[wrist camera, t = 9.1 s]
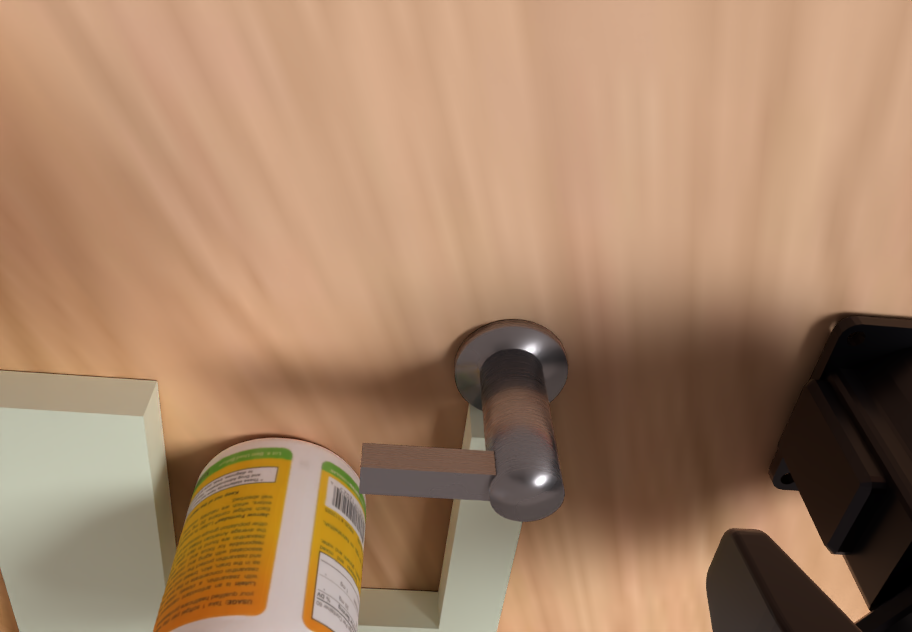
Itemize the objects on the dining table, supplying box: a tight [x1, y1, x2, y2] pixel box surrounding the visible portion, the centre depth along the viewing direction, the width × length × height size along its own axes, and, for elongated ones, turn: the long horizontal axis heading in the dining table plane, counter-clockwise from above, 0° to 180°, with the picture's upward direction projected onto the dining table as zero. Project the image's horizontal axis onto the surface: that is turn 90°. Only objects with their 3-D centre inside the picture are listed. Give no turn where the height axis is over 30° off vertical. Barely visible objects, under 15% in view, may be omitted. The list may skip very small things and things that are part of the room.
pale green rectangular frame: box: [0, 370, 522, 632], centre depth 29 cm, size 16×18×2 cm
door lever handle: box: [359, 320, 568, 522], centre depth 22 cm, size 6×3×5 cm, turn 83°
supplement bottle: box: [153, 438, 366, 632], centre depth 24 cm, size 5×5×10 cm
